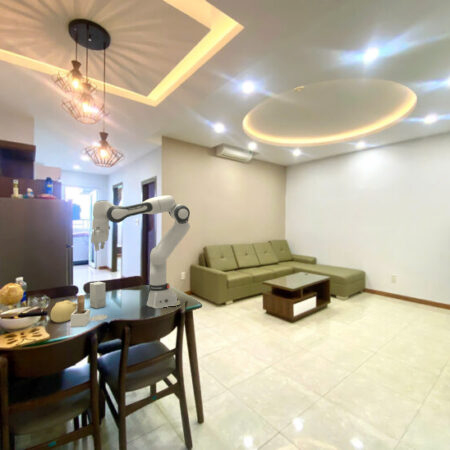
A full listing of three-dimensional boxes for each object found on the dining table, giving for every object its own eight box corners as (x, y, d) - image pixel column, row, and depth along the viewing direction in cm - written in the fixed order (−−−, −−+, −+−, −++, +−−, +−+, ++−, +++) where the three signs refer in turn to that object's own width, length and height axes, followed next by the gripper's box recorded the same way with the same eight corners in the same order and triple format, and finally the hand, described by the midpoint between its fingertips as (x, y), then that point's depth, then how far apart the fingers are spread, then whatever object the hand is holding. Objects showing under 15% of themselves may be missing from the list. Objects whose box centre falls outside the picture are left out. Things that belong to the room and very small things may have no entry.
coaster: (109, 315, 144) (109, 314, 144) (105, 321, 135) (105, 320, 135) (93, 316, 142) (93, 315, 142) (87, 322, 133) (87, 321, 133)
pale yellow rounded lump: (79, 316, 141) (80, 297, 141) (67, 324, 129) (67, 304, 129) (59, 316, 141) (60, 297, 141) (45, 324, 129) (45, 304, 129)
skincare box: (105, 306, 158) (106, 282, 158) (95, 309, 153) (96, 284, 152) (99, 303, 163) (99, 280, 163) (89, 306, 157) (89, 282, 157)
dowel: (85, 322, 132) (85, 294, 132) (82, 324, 128) (83, 296, 128) (78, 322, 131) (78, 295, 131) (75, 325, 128) (76, 297, 128)
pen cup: (89, 321, 134) (90, 309, 134) (85, 327, 127) (85, 314, 127) (76, 322, 132) (76, 309, 132) (70, 328, 126) (70, 314, 126)
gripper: (100, 227, 137) (99, 251, 137) (110, 226, 157) (109, 247, 157) (88, 227, 136) (87, 251, 136) (100, 226, 156) (99, 247, 156)
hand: (99, 249), depth 146 cm, fingers open, 8 cm apart
